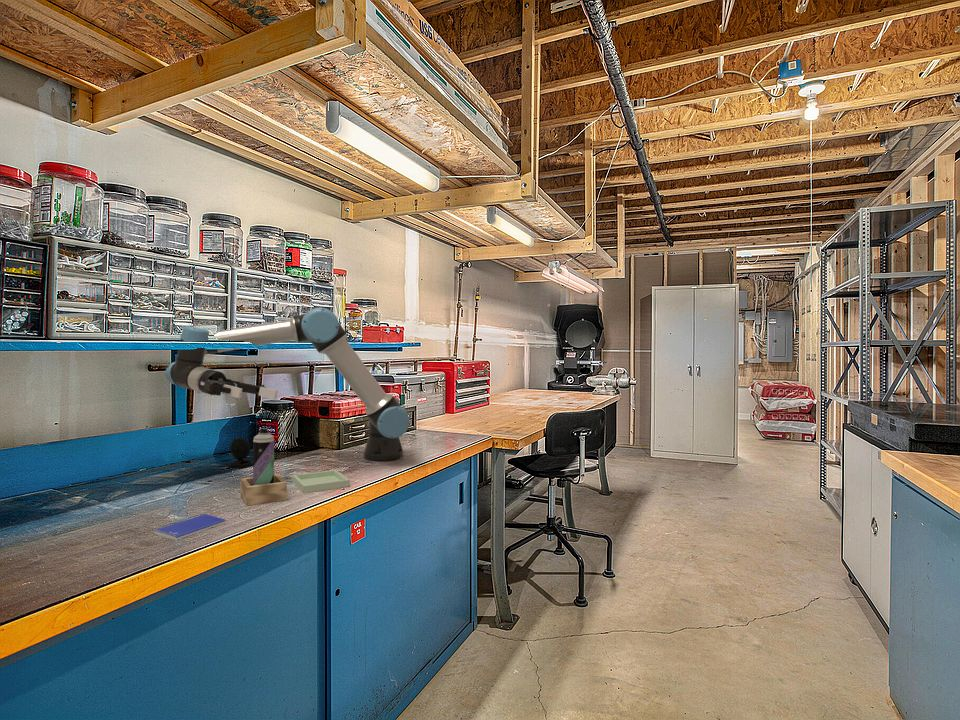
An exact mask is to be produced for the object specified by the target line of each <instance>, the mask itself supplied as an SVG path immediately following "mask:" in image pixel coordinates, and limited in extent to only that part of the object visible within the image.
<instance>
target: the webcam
mask: <svg viewBox="0 0 960 720" xmlns="http://www.w3.org/2000/svg"><path fill="white" fill-rule="evenodd" d="M251 450H252V446H251V444H250V442H249V441H248V440H247V439H245V438H243V437H237V438H235V439H233V440H232V442H231V443H230V453H231V455H232V457H233V458H234V459H236V460H233V461H230V462H229V463H228V464H227V466H228V468H230V467H232V468H231V469H244V468H243V467H245V468H248V466H249V467H251V466H252V465H253V461H250V460H247V459H246V458H247V457H249V455H250V452H251Z"/></svg>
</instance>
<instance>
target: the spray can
mask: <svg viewBox="0 0 960 720" xmlns="http://www.w3.org/2000/svg"><path fill="white" fill-rule="evenodd" d="M274 437H275V436H274V435H272V434H270V432H269V431H268V428H266V427H261V428H260V431H259V432H258V434H256V435H255V436H254V437H253V440H252V447H253V449H252V451H253V452H252V477H253V486H255V485H262V484H270V483H274V475H275V438H274Z"/></svg>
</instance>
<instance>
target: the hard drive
mask: <svg viewBox="0 0 960 720" xmlns="http://www.w3.org/2000/svg"><path fill="white" fill-rule="evenodd" d="M225 522H226V519H224V518H221V517H218V516H213V515H209V514H206V513H204V514H201V515H197V516H195V517H191V518H188V519H185V520H182V521H181V520H180V521H179V522H176V523H172V524H169V525H166V526H163V527H159V528H156V529H154V530H153V534H154V535H157V536H160V537H163V538H166V537H167V539H170V538H171V539H170V540H173V539H175V540H174V541H179V540H182V539H184V538H183V537H185V538H187V537H186V536H188V537H190V536H189V535H191V536H193V535H192V534H194V535H196V534H199V533H201V532H200V531H202V532H204V531H203V530H205V531H207V530H206V529H208V528H211V527H214V526H216V525H219V524H222V523H225ZM225 524H226V523H225ZM222 525H223V524H222ZM219 526H220V525H219ZM216 527H217V526H216ZM214 528H215V527H214ZM211 529H212V528H211ZM208 530H209V529H208ZM198 532H199V533H198ZM195 533H196V534H195ZM181 538H182V539H181ZM178 539H179V540H178Z"/></svg>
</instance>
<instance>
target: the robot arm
mask: <svg viewBox="0 0 960 720" xmlns="http://www.w3.org/2000/svg"><path fill="white" fill-rule="evenodd" d="M228 329H229V328H227V329H226V330H225V329H221V330H222V331H220V332H218V333H217V334H215V335H214V338H217V339H222V340H230V341H244V342H250V343H252V344H254V345H257V346H256V347H259V346H265V345H271V344H277V343H285V342H291V341H294V342H296V343H301V342H302V343H303V342H310V343H311V344H312V346H313V347H314V349H316V350H317V352H318V353H319V354H323V355H326V357H327V358H328V359H329V361H330V362H331V363H332V365H333V366H334V368H336V369H337V371H338V373H340V375H341V376H342V378H343V379H344V381H346V383H347V385H349V387H350V388H351V389H352V391H353V392H354V393H355V395H356V396H357V398H358V399H359V400H360V402H361V403H362V404H363V405H364V406H365V408H366V410H365V415H366V416H367V418H368V439H367V441H366V444H365V448H364V450H363V458H364V459H366V460H370V461H376V460H388V461H392V460H391V459H396V460H398V459H397V458H400V457H402V456H403V457H404V450H403V445H402V443H401V440H400V437H401V436H403V435H404V434H405V433H407V430H408V429H409V426H410V415H409V413H408V412H407V410H406V409H405V408H403V407H402V406H401V403H400V399H399V398H397V397H395V396H394V395H393V394H391V393H386V391H385V390H384V388H382V386H381V385H380V383H379V382H378V381H377V380H376V378H375V377H374V375H373V373H371V372H370V370H369V369H368V368H367V366H366V365H365V363H364V362H363V361H362V359H361V358H360V357H359V355H358V354H357V353H356V351H355V350H354V349H353V347H352V346H351V344H350V343H349V342H348V340H347V336H348V333H347V332H346V330H345V329H344V327H343V326H342V325H341V324H340V322H339V319H338V317H337V315H336V314H335V313H334V312H333V311H332V310H330V309H328V308H325V307H314V308H312V309H310V310H308V311H307V312H306V313H303V314H298V315H294V316H291V317H290V319H286V320H279V321H278V320H277V321H273V322H272V321H271V322H266V323H260V324H253V325H252V324H251V325H246V326H240V327H239V326H238V327H233V329H232V328H230V329H231V330H228ZM209 332H210V331H209V330H207V329H205V328H200V327H195V326H191V325H190V326H189V325H186V326H184V327H183V328H182V331H181V334H180V336H179V337H180V339H181V340H183V341H208V339H209V338H208V336H209ZM240 349H243V348H233V349H217V350H209V351H207V350H206V349H205V348H197V349H194V350H177V355H176V359H175V361H174V362H171V363H169V364H168V366H167V367H166V368H165V371H164V374H165V378H166V380H167V382H169V384H172V385H174V386H177V387H179V388H184V389H188V390H193V391H197V394H201V393H203V394H206V395H210V396H221V395H225V396H229V397H233V398H237V399H241V397H242V393H247V394H253V395H258V397H259V396H260V397H264V398H268V399H271V400H277V396H278V393H279V392H278V390H276V389H271V388H268V387H267V386H265V384H261V385H256V384H251V383H247V382H246V383H245V382H241V381H237V380H233V379H231V378H227V376H226V375H225V373H224V372H223V371H219V370H215V369H212V368H207V367H204V366H203V364H204V360H205V359H204V358H205V355H210V354H211V355H212V354H217V353H222V352H230V351H235V350H240ZM403 457H402V458H403ZM400 459H401V458H400Z"/></svg>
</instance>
